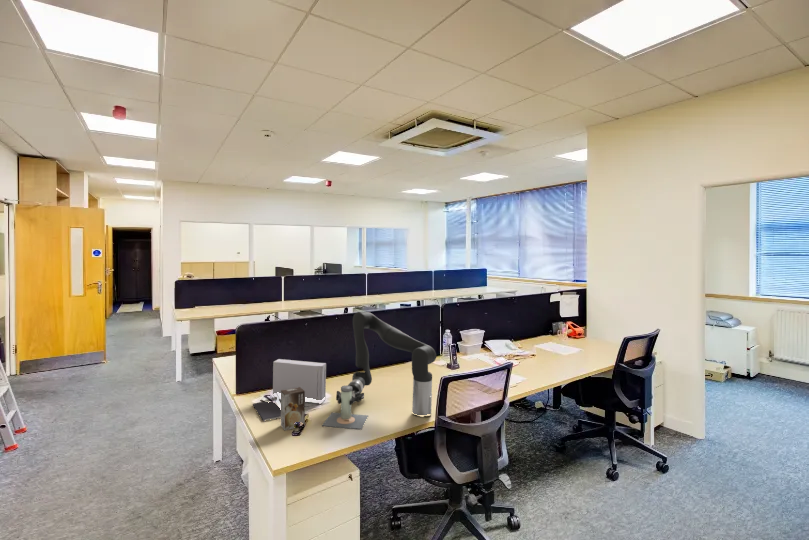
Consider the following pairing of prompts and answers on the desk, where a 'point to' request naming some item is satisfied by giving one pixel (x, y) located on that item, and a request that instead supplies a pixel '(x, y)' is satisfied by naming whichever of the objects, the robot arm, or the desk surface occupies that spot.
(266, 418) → the notebook
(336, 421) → the card
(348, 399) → the tube
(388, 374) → the desk surface
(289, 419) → the coffee box
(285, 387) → the game console
